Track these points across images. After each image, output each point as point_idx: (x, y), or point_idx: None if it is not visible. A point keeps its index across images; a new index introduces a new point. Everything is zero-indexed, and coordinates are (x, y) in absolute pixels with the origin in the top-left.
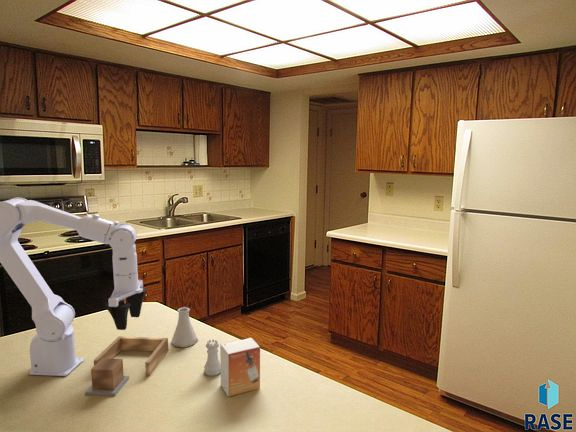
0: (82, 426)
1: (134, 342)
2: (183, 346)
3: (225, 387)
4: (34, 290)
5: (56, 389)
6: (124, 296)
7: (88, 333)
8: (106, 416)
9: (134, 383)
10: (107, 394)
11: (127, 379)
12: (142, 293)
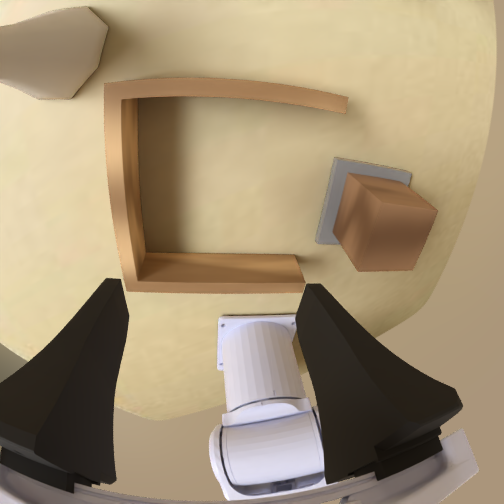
0: (469, 203)
1: (133, 223)
2: (105, 30)
3: None
4: None
5: (346, 303)
6: (429, 499)
7: None
8: (461, 169)
9: (363, 133)
10: None
11: (346, 159)
12: (45, 441)
